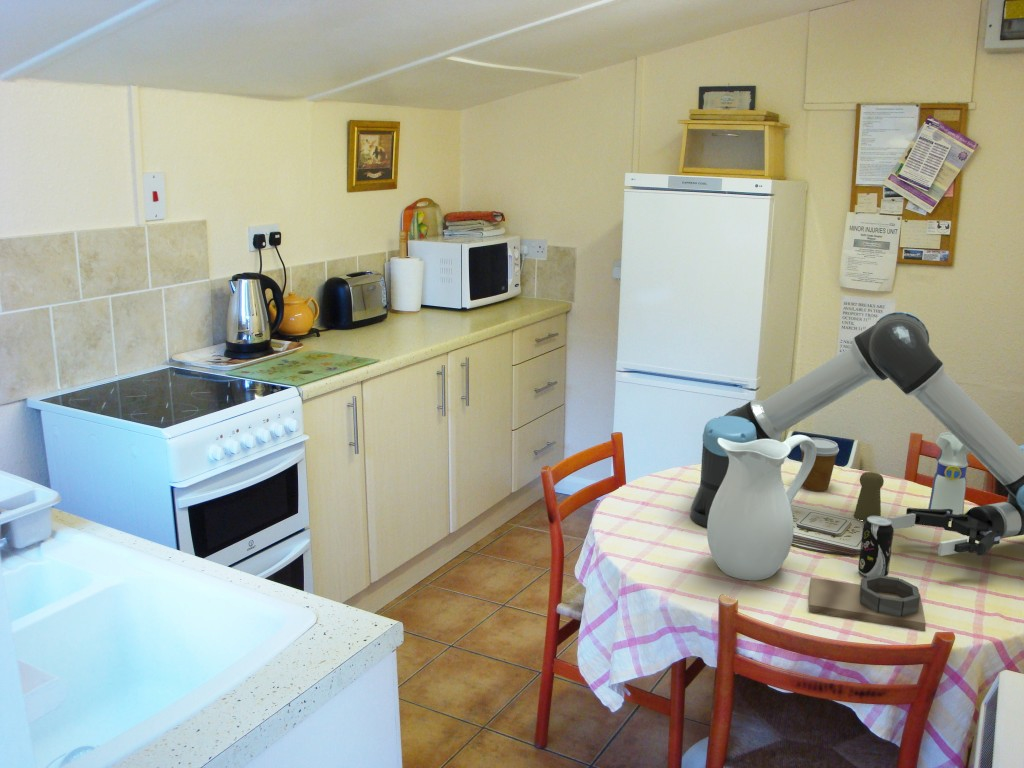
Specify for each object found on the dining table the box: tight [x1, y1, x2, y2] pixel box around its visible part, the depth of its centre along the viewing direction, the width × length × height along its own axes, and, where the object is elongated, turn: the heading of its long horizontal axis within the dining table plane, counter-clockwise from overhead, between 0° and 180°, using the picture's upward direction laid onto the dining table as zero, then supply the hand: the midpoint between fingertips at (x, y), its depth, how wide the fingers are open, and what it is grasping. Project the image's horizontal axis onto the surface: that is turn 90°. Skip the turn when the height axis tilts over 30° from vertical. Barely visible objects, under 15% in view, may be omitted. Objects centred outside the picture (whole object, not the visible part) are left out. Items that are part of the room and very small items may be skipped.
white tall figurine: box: [927, 427, 972, 515], centre depth 215 cm, size 8×9×25 cm
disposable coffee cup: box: [799, 437, 840, 492], centre depth 234 cm, size 10×10×12 cm
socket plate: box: [808, 575, 927, 631], centre depth 173 cm, size 20×12×4 cm, turn 71°
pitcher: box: [706, 434, 817, 581], centre depth 186 cm, size 24×17×28 cm
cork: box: [853, 471, 885, 522], centre depth 214 cm, size 6×6×11 cm
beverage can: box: [857, 515, 895, 578], centre depth 185 cm, size 6×6×12 cm
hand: (914, 535), depth 188 cm, fingers open, 13 cm apart
